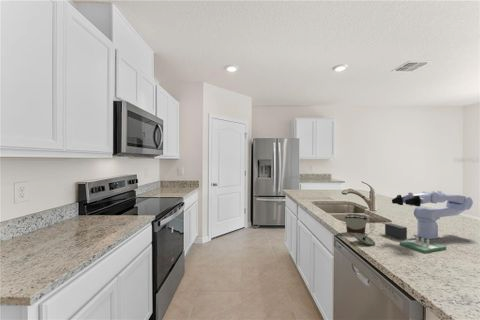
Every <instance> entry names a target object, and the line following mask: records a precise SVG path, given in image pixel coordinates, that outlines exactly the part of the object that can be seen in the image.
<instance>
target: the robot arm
mask: <svg viewBox="0 0 480 320" xmlns="http://www.w3.org/2000/svg"><path fill="white" fill-rule="evenodd" d="M429 203H430V204H438V203H446V204H445V206H442V207H434V208H432V207H431V208H427V207H426V208H425V207H424V208H423V207H421V205H424V204H429ZM473 203H474V202H473V199H472V197H470V196H464V195H459V194H452V193H448V194H446V193H444V192H442V191H439V190H438V191H430V192H429V191H422V192H419V193H413V192H408V193H407V194H406V195H404V196H402V194H398V195H397V196H396V197H394V198H392V199H391V204H394V205H395V204H397V205H399V206H404V204H405V205H406V206H407V205H408V206H410V207H415V208H414V210H413V216H414V217H415V219H416V220H417V233H413V235H414V236H415V237H416V236H418V237H419V238H424V240H425V239H426V240H427V239H428V240H432V239H433V240H434V239H439V238H441V237H440V236H439V225H438V222H436V221H438V220H440V219H441V218H445V217H451V216H452V217H455V216H459V215H461V213H463V212H465V211H467V210H468V211H469V210H470V209H471V208H472V206H473Z"/></svg>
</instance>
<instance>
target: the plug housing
mask: <svg viewBox="0 0 480 320" xmlns="http://www.w3.org/2000/svg"><path fill="white" fill-rule="evenodd" d="M382 224H383V225H384V230H385V231H384V234H385V235H387V236H389V237H391V238H392V237H393V238H395V239H399V240H405V239H406V240H407V238H408V228H407V227H406V226H404V225H403V226H402V225H399V224H395V223H391V222H389V223H388V222H382Z"/></svg>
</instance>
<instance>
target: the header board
mask: <svg viewBox="0 0 480 320" xmlns="http://www.w3.org/2000/svg"><path fill="white" fill-rule="evenodd" d="M399 245H400V246H403V247H406V248H409V249H412V250H414V251H417V252H421V253H424V254H427V253H433V252H437V251H438V252H439V251H444V250H447V246H445V245H443V244H439V243H435V242H432V241H430V239H426V240H425V238H422V237H418V236H415V239H411V240H404V241H403V240H402V241H399Z"/></svg>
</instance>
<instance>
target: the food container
mask: <svg viewBox="0 0 480 320" xmlns="http://www.w3.org/2000/svg"><path fill="white" fill-rule="evenodd" d="M344 219H345V225H346V227H345V229H346V233H347V234H354V233H361V234H365V235H366V227H367V221H368V220H369V219H368V217H367V216H366V215H365V214H357V213H346V214H345V215H344Z"/></svg>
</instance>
